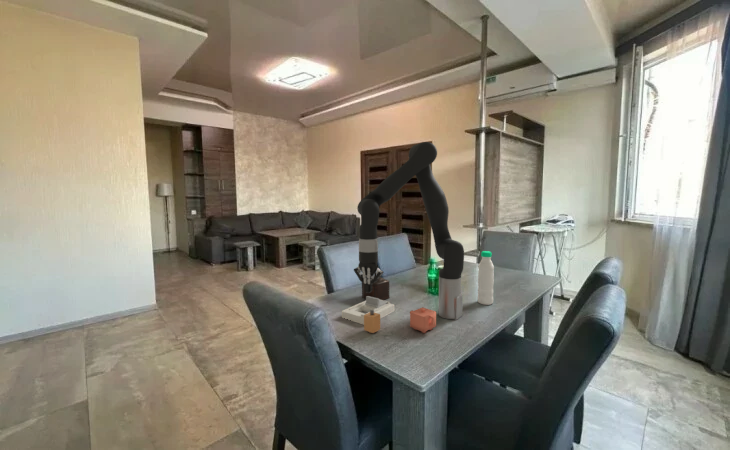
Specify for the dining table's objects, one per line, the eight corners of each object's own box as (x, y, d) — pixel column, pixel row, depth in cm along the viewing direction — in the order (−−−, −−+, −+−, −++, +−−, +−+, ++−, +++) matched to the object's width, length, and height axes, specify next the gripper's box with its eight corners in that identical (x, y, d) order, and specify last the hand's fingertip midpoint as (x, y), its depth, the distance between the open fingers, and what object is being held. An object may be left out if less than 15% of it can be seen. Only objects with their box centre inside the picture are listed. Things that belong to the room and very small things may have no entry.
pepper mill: (391, 298, 165) (390, 263, 163) (375, 303, 158) (374, 267, 156) (370, 291, 177) (370, 258, 175) (355, 295, 169) (354, 262, 168)
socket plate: (394, 311, 147) (394, 303, 147) (367, 325, 131) (366, 316, 131) (370, 304, 156) (370, 297, 155) (341, 317, 140) (341, 309, 140)
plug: (380, 331, 126) (380, 310, 125) (373, 335, 123) (373, 313, 122) (371, 328, 129) (371, 307, 128) (364, 332, 126) (363, 311, 125)
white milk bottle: (476, 304, 154) (477, 252, 152) (478, 299, 161) (479, 249, 158) (492, 306, 151) (493, 253, 149) (493, 301, 157) (495, 250, 155)
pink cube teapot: (416, 321, 135) (416, 302, 134) (440, 330, 126) (440, 310, 125) (403, 327, 130) (403, 307, 129) (428, 336, 121) (428, 315, 120)
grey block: (386, 303, 148) (386, 295, 148) (377, 308, 143) (377, 299, 142) (374, 300, 152) (374, 292, 152) (365, 304, 147) (365, 296, 147)
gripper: (349, 249, 128) (349, 292, 130) (378, 252, 121) (378, 297, 123) (358, 247, 134) (359, 287, 136) (387, 249, 128) (387, 292, 130)
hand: (368, 292), depth 130 cm, fingers closed
